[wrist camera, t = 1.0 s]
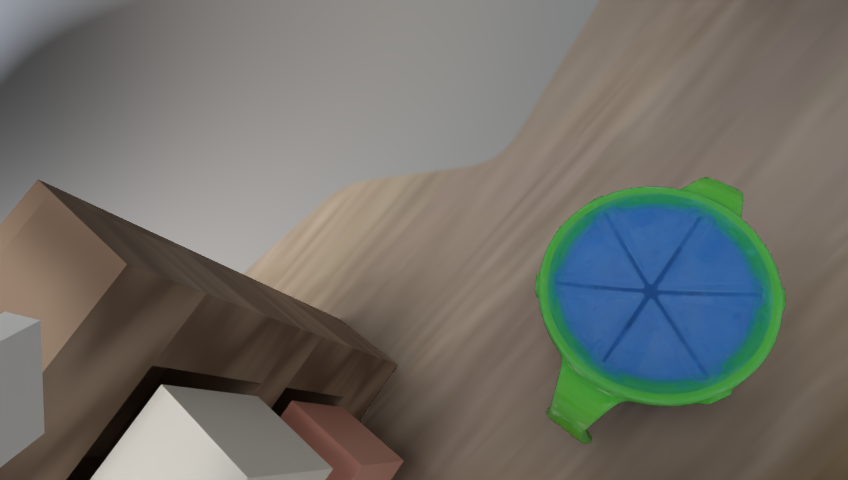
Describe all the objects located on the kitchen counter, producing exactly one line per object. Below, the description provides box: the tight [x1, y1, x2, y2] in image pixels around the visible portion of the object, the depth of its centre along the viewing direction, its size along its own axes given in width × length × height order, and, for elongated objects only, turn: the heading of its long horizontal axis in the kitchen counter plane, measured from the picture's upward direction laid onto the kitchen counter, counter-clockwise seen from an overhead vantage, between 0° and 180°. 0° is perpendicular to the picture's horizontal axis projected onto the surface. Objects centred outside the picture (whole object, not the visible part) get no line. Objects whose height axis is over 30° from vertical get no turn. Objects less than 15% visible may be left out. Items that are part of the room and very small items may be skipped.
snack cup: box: [535, 177, 786, 443], centre depth 29 cm, size 16×10×10 cm
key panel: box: [0, 180, 397, 480], centre depth 27 cm, size 14×6×24 cm, turn 144°
